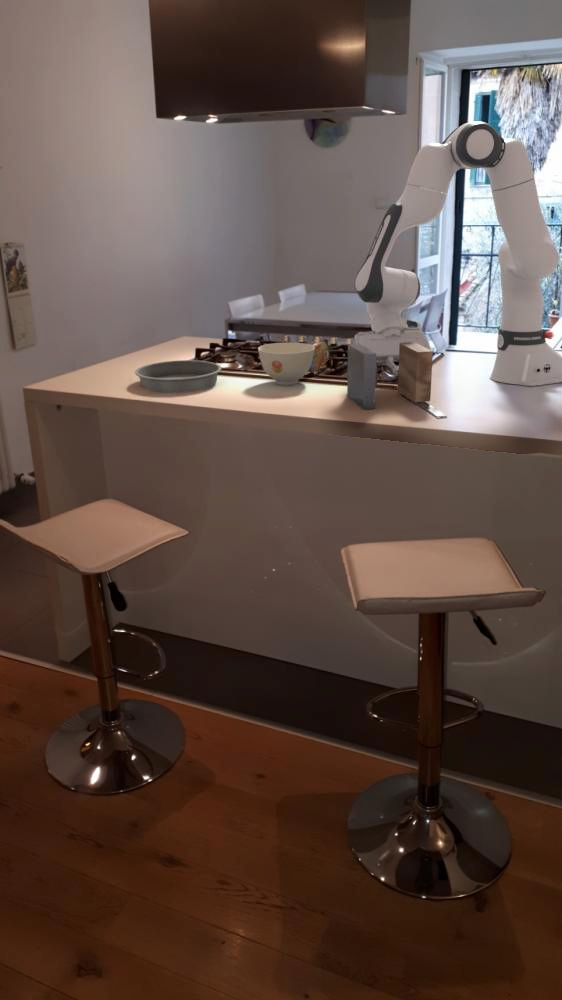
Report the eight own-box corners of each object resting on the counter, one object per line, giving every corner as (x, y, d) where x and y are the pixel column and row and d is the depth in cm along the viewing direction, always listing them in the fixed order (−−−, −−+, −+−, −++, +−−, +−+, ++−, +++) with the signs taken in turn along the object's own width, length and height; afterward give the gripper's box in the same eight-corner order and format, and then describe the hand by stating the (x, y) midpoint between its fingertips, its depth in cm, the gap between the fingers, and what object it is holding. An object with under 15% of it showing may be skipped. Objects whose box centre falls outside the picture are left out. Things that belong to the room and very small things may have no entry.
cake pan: (171, 371, 248) (170, 356, 247) (238, 379, 237) (237, 364, 235) (118, 388, 229) (116, 372, 227) (187, 398, 217) (186, 382, 215)
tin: (311, 377, 238) (311, 348, 234) (301, 376, 239) (301, 347, 236) (330, 366, 250) (331, 339, 247) (321, 366, 251) (321, 339, 248)
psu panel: (406, 391, 220) (409, 339, 214) (446, 417, 195) (450, 359, 190) (346, 395, 216) (346, 343, 211) (378, 422, 192) (380, 364, 187)
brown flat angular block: (411, 389, 218) (413, 342, 213) (430, 401, 206) (432, 351, 202) (397, 390, 217) (399, 342, 213) (415, 402, 205) (417, 352, 201)
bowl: (326, 381, 232) (326, 346, 228) (288, 392, 221) (288, 355, 217) (285, 373, 242) (284, 340, 238) (247, 383, 231) (246, 348, 227)
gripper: (355, 325, 221) (365, 368, 216) (425, 322, 225) (437, 364, 219) (350, 339, 227) (360, 381, 221) (419, 335, 230) (430, 376, 225)
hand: (399, 372), depth 220 cm, fingers closed
